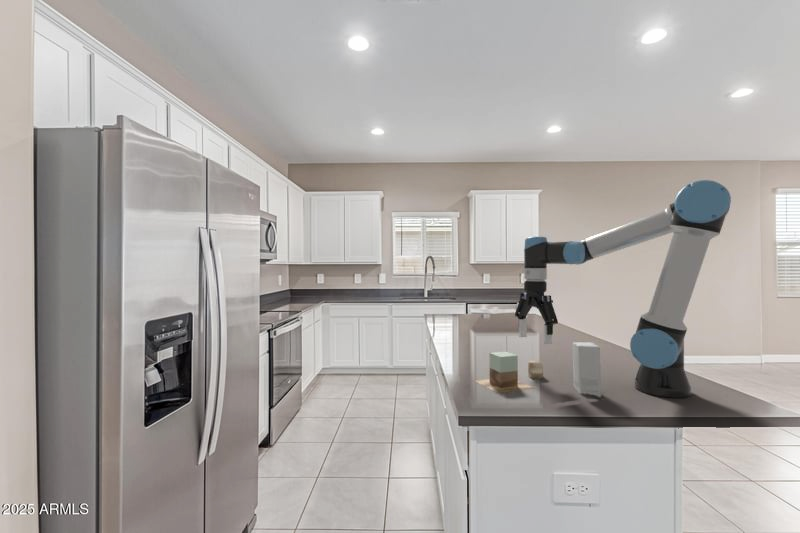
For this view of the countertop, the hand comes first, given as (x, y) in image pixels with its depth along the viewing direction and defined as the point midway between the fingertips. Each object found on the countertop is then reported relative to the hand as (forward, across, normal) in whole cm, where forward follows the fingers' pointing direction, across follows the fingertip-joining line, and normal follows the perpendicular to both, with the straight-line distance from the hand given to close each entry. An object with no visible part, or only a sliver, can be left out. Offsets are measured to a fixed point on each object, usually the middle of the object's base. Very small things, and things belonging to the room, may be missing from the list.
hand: (534, 340), depth 140 cm
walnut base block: (+13, +4, -16) cm, 21 cm away
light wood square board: (+14, +4, -16) cm, 21 cm away
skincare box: (+14, +18, +5) cm, 24 cm away
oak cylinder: (+14, 0, 0) cm, 14 cm away
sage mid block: (+8, +4, -16) cm, 18 cm away
